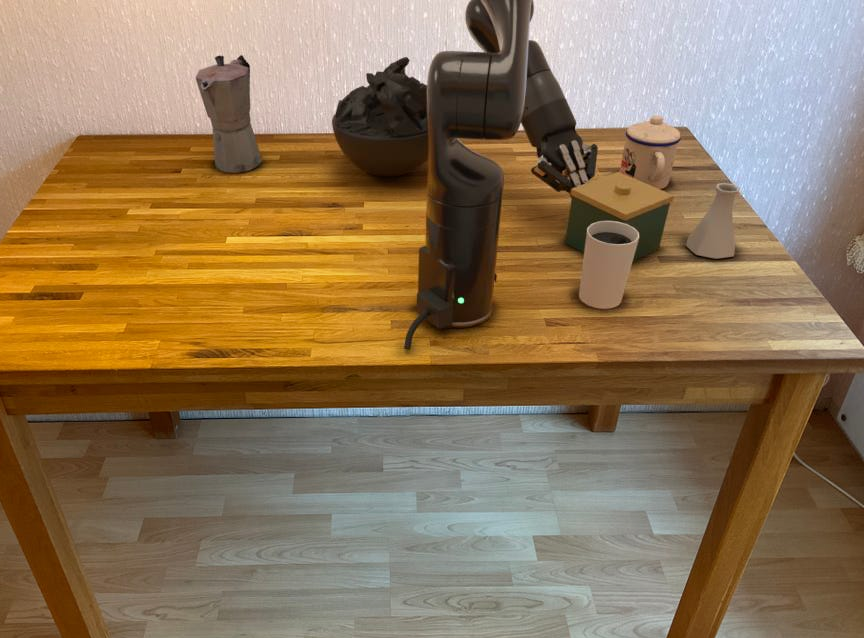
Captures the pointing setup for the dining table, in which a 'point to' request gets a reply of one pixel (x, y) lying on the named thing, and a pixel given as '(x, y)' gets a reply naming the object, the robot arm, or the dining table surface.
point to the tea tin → (619, 210)
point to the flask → (716, 226)
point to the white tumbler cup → (607, 263)
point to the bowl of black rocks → (384, 123)
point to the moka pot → (230, 114)
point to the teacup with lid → (650, 152)
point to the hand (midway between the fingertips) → (588, 210)
